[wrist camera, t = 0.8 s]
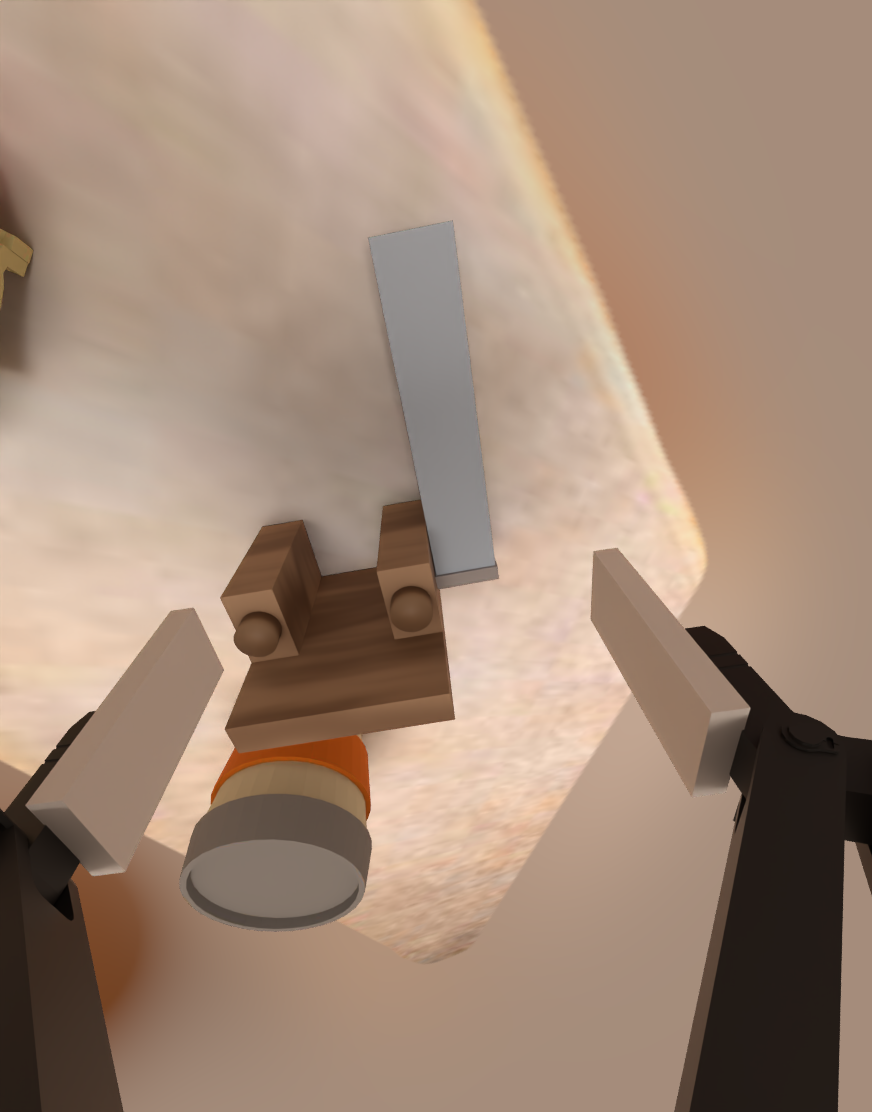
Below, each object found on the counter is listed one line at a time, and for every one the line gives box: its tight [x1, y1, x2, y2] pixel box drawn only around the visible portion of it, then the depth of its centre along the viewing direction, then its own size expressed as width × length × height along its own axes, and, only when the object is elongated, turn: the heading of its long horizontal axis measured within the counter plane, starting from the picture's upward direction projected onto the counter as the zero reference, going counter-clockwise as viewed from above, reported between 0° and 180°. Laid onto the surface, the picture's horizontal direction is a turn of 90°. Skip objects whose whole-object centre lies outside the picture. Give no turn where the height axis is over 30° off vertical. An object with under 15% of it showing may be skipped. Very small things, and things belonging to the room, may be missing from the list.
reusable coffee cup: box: [180, 734, 372, 932], centre depth 37 cm, size 12×13×15 cm
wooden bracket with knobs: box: [220, 500, 455, 753], centre depth 29 cm, size 7×12×14 cm, turn 99°
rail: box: [368, 221, 499, 589], centre depth 29 cm, size 20×4×5 cm, turn 10°
